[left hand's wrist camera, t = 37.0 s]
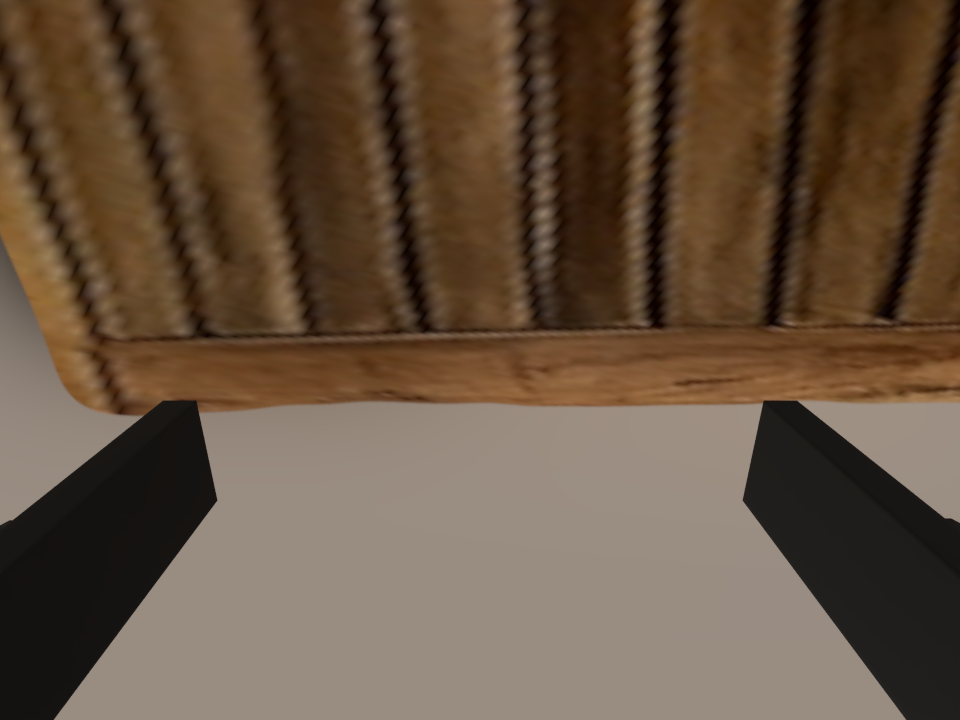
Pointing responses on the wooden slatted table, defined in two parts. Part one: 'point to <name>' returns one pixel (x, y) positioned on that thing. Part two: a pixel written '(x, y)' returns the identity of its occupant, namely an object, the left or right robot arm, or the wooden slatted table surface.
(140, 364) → the wooden slatted table surface
